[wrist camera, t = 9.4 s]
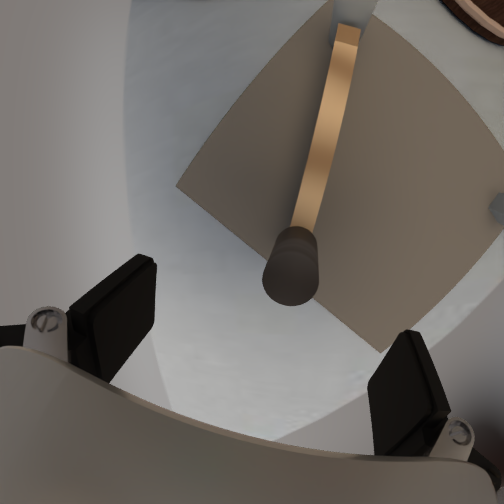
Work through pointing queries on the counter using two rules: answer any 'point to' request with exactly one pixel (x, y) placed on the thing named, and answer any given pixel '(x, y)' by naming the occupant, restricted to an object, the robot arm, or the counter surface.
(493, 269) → the counter surface
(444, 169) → the taupe mat
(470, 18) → the mug
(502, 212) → the gate frame
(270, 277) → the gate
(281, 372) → the counter surface
